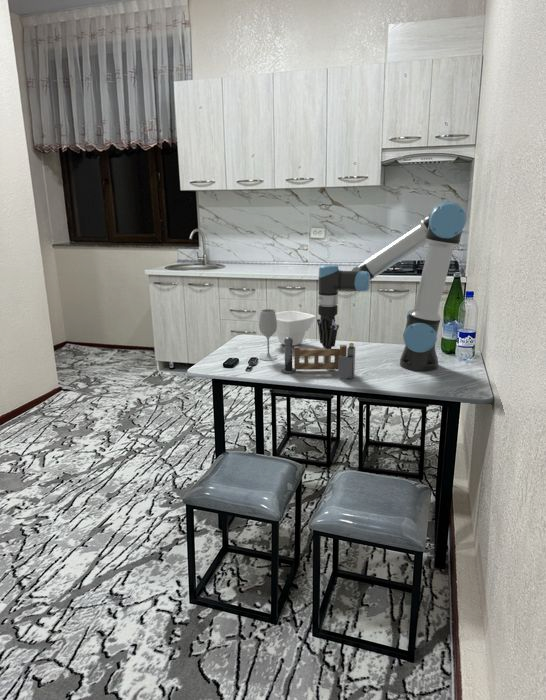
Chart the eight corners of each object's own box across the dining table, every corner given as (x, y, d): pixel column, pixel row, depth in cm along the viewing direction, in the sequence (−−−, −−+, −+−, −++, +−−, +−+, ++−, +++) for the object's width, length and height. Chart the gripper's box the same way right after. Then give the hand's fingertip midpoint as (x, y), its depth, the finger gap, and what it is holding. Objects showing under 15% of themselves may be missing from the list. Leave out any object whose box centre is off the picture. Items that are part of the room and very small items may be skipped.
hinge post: (298, 369, 210) (298, 336, 206) (293, 374, 204) (293, 339, 201) (284, 368, 212) (283, 334, 208) (279, 372, 206) (278, 338, 203)
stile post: (354, 376, 201) (355, 342, 197) (351, 380, 196) (352, 345, 193) (340, 375, 202) (341, 341, 199) (337, 379, 198) (338, 344, 195)
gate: (294, 369, 207) (294, 346, 204) (294, 367, 209) (294, 345, 206) (346, 369, 206) (346, 346, 204) (345, 367, 208) (346, 344, 206)
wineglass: (275, 361, 221) (274, 312, 215) (257, 360, 223) (256, 312, 217) (278, 356, 228) (278, 309, 223) (261, 355, 230) (260, 308, 224)
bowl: (291, 337, 259) (291, 309, 255) (319, 345, 245) (319, 316, 241) (262, 344, 248) (261, 315, 244) (289, 352, 234) (289, 322, 230)
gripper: (311, 302, 208) (311, 359, 215) (328, 308, 197) (327, 368, 204) (327, 301, 211) (326, 356, 218) (345, 306, 200) (343, 365, 207)
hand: (327, 362), depth 211 cm, fingers closed
